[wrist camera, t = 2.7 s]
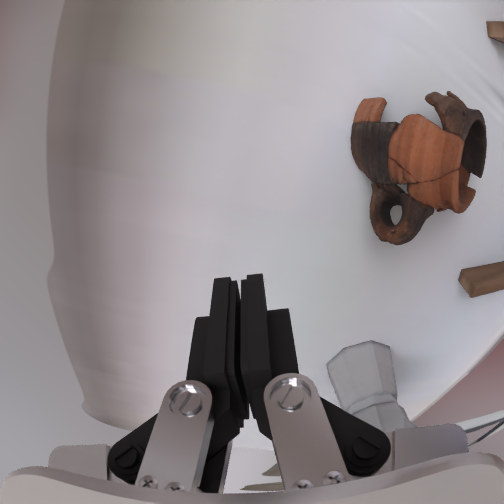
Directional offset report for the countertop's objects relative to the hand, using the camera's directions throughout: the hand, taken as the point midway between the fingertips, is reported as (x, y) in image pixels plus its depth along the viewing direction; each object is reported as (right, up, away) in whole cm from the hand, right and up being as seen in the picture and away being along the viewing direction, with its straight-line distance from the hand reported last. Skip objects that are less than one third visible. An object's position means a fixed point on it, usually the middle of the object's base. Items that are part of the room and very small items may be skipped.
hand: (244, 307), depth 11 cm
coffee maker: (+13, -13, +25) cm, 31 cm away
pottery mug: (+12, +10, +10) cm, 18 cm away
